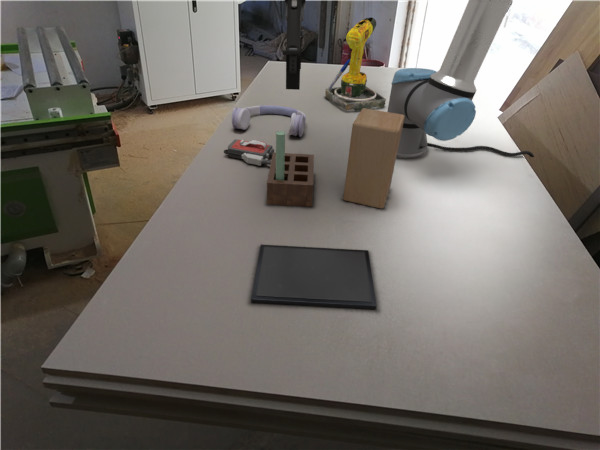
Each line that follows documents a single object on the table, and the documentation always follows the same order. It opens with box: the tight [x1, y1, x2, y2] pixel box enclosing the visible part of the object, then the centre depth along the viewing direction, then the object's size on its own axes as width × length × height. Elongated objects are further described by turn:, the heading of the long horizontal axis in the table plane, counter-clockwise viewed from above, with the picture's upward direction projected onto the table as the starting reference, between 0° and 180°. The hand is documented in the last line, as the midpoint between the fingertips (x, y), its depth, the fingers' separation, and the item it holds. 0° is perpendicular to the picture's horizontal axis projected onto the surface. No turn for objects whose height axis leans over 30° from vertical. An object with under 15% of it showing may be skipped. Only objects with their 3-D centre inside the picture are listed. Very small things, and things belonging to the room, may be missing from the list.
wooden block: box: [342, 108, 405, 209], centre depth 95 cm, size 10×10×20 cm
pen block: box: [266, 151, 315, 208], centre depth 100 cm, size 11×15×6 cm
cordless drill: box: [324, 16, 387, 111], centre depth 145 cm, size 18×19×28 cm
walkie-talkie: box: [223, 138, 275, 167], centre depth 112 cm, size 9×4×20 cm
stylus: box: [275, 130, 286, 181], centre depth 93 cm, size 2×2×17 cm
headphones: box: [231, 104, 307, 138], centre depth 131 cm, size 22×7×20 cm
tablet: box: [250, 244, 377, 310], centre depth 77 cm, size 22×15×1 cm
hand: (293, 78), depth 86 cm, fingers open, 13 cm apart
